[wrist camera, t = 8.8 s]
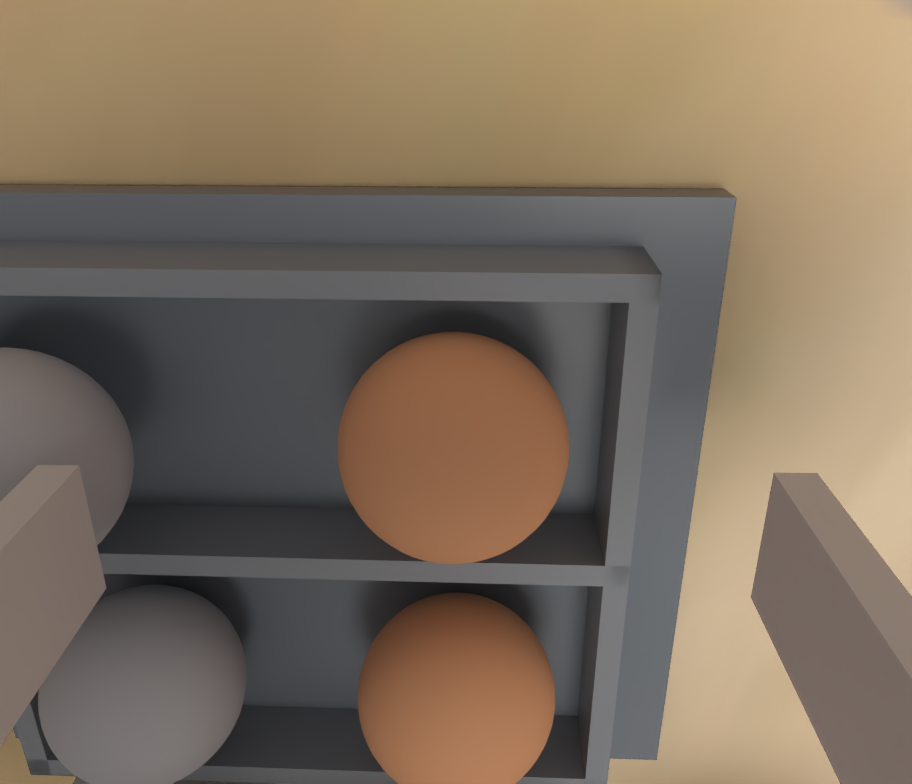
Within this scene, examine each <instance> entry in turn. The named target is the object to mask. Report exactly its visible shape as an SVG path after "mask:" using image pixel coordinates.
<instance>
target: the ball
mask: <svg viewBox="0 0 912 784" xmlns="http://www.w3.org/2000/svg"><path fill="white" fill-rule="evenodd" d="M568 461H569V434H568V428H567V423H566V419H565V416H564V413H563V409H562V406H561V403H560V401H559V399H558V397H557V395H556V393H555V391H554V390H553V388H552V387H551V385H550V384H549V382H548V381H547V379H546V378H545V376H544V375H543V374H542V373H541V371H540V370H539V369H538V368H537V367H536V366H535V365H534V364H533V363H532V362H531V361H530V360H528V359H527V358H526V357H525V356H524V355H522V354H521V353H519V352H518V351H516V350H515V349H513V348H512V347H510V346H508V345H506V344H504V343H502V342H500V341H498V340H495V339H492V338H489V337H486V336H483V335H478V334H473V333H466V332H440V333H434V334H428V335H424V336H421V337H418V338H414V339H411V340H409V341H407V342H405V343H402V344H400V345H398V346H397V347H395V348H393V349H392V350H390V351H389V352H387V353H386V354H385V355H383V356H382V357H381V358H380V359H378V360H377V361H376V362H375V363H374V364H372V365H371V367H370V368H369V369H368V370H367V371H366V372H365V373H364V374H363V375H362V377H361V378H360V380H359V381H358V383H357V384H356V386H355V387H354V389H353V390H352V392H351V394H350V396H349V398H348V400H347V402H346V405H345V408H344V411H343V414H342V418H341V421H340V425H339V432H338V464H339V471H340V475H341V478H342V482H343V485H344V488H345V491H346V493H347V496H348V498H349V500H350V502H351V504H352V505H353V507H354V509H355V510H356V512H357V513H358V515H359V516H360V518H361V519H362V520H363V522H364V523H365V524H366V525H367V526H368V528H369V529H370V530H372V531H373V532H374V533H375V534H376V535H377V536H378V537H379V538H381V539H382V540H383V541H385V542H386V543H387V544H389V545H390V546H392V547H394V548H395V549H397V550H399V551H400V552H402V553H405V554H407V555H409V556H411V557H414V558H417V559H420V560H424V561H428V562H433V563H440V564H466V563H474V562H478V561H482V560H486V559H489V558H492V557H494V556H497V555H500V554H502V553H504V552H506V551H508V550H510V549H512V548H513V547H515V546H516V545H518V544H519V543H521V542H522V541H523V540H525V539H526V538H527V537H528V536H529V535H530V534H531V533H533V532H534V531H535V530H536V529H537V528H538V527H539V526H540V525H541V523H542V522H543V521H544V520H545V519H546V517H547V515H548V514H549V512H550V511H551V509H552V508H553V506H554V505H555V503H556V501H557V499H558V497H559V495H560V492H561V490H562V487H563V483H564V480H565V476H566V473H567V468H568Z"/></svg>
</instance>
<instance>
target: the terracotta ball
mask: <svg viewBox="0 0 912 784" xmlns="http://www.w3.org/2000/svg"><path fill="white" fill-rule="evenodd" d="M358 712H359V719H360V723H361V727H362V731H363V734H364V737H365V740H366V742H367V744H368V746H369V748H370V750H371V752H372V754H373V756H374V757H375V759H376V760H377V762H378V763H379V764H380V766H381V767H382V768H383V770H384V771H385V772H386V773H387V774H388V775H389V776H390V777H391V778H392V779H393V780H394V781H396V782H397V783H398V784H515V783H516V782H518V781H519V780H520V779H521V778H522V777H523V776H524V775H525V774H526V773H527V772H528V771H529V770H530V769H531V767H532V766H533V765H534V763H535V762H536V761H537V759H538V757H539V756H540V754H541V752H542V750H543V748H544V747H545V745H546V742H547V739H548V737H549V734H550V731H551V728H552V724H553V718H554V712H555V684H554V679H553V674H552V669H551V666H550V663H549V660H548V658H547V655H546V652H545V650H544V648H543V646H542V645H541V643H540V641H539V639H538V638H537V636H536V635H535V633H534V632H533V631H532V629H531V628H530V627H529V626H528V625H527V624H526V623H525V622H524V621H523V620H522V619H521V618H520V617H519V616H518V615H517V614H516V613H514V612H513V611H512V610H510V609H509V608H507V607H505V606H503V605H502V604H500V603H498V602H496V601H494V600H492V599H489V598H487V597H483V596H480V595H475V594H470V593H459V592H458V593H443V594H437V595H433V596H430V597H427V598H424V599H422V600H419V601H417V602H415V603H413V604H411V605H409V606H407V607H406V608H404V609H403V610H401V611H400V612H399V613H398V614H396V615H395V616H394V617H393V618H392V619H391V620H390V621H388V622H387V624H386V625H385V626H384V627H383V628H382V630H381V631H380V632H379V634H378V635H377V636H376V638H375V639H374V641H373V643H372V644H371V646H370V648H369V650H368V652H367V655H366V657H365V660H364V662H363V666H362V669H361V673H360V678H359V685H358Z"/></svg>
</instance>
